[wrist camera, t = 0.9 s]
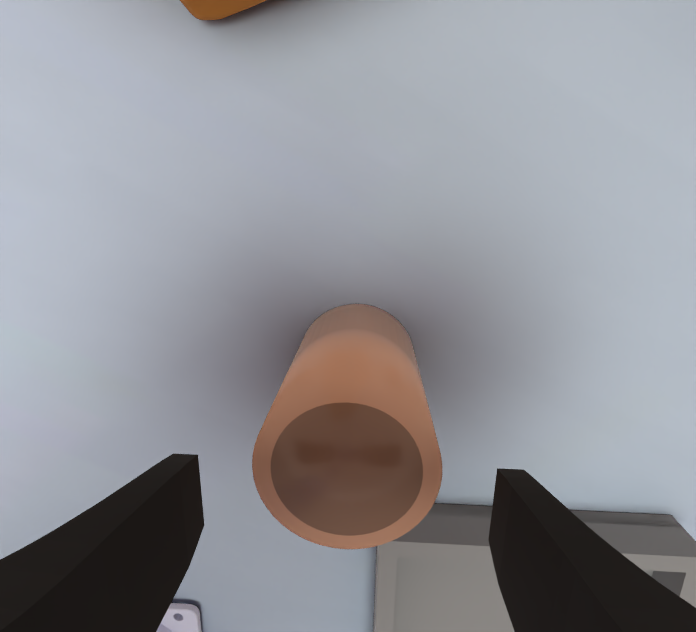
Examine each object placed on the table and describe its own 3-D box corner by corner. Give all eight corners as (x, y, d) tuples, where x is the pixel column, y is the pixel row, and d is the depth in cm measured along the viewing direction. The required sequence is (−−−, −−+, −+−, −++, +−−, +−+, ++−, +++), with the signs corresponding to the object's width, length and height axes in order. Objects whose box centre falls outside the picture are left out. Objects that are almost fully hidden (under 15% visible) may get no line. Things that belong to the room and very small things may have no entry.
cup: (300, 408, 20) (255, 545, 12) (298, 302, 19) (247, 381, 11) (410, 413, 20) (435, 555, 12) (417, 305, 19) (450, 389, 11)
